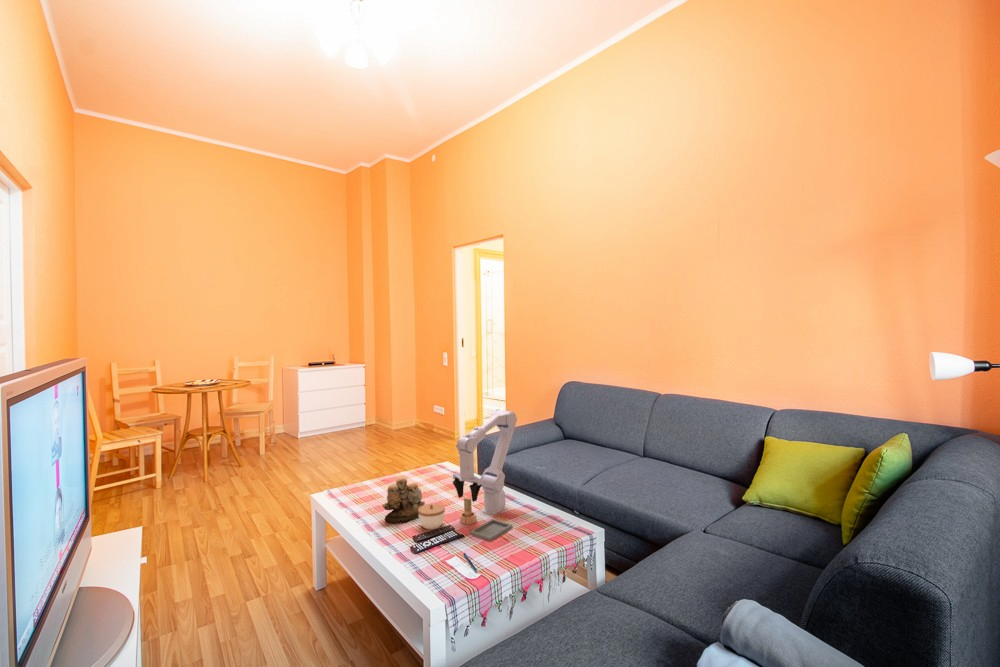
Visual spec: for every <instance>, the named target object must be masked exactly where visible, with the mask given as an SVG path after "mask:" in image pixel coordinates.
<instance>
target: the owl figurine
mask: <svg viewBox="0 0 1000 667" xmlns="http://www.w3.org/2000/svg"><path fill="white" fill-rule="evenodd" d="M407 483H408V480H407V479H406V478H405V477H398V479H397V480H396V481H395V483H392V484H390V485H389V486H388V487H387V495H386V501H387V502H386V503H385V502H384V503H383V504H382V507H383V509H384V510H385V511H390V512H388V513H387V514H386V515H385V516H384V520H385V522H386V523H389V524H392V525H393V524H395V525H397V524H407V523H408V522H411V521H414V520H417V519H419V513H418V509H419V508H420V507H421V506H423V505H426V502H425V501H422V500H423V494H422V489H421V488H420V487H419V485H418V484H417V483H414V482H413V483H411V484H409V485H408V484H407Z"/></svg>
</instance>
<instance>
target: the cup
mask: <svg viewBox="0 0 1000 667" xmlns="http://www.w3.org/2000/svg"><path fill="white" fill-rule="evenodd" d="M459 521H460V522H459V523H460V524H463V525H473V524H475V523H476V522H477V513H476V512H475V511H472V516H471V517H464V511H463V512H460V513H459Z"/></svg>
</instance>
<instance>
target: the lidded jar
mask: <svg viewBox="0 0 1000 667" xmlns="http://www.w3.org/2000/svg"><path fill="white" fill-rule="evenodd" d="M445 507H446V506H445V505H444V504H442V503H437V502H436V503H434V502H433V503H432V502H431V503H427V504H426V503H425V504H424V505H423V506H421V507H420V508H419V509H418V513H419V518H418V521H419V524H420V526H422V528H424V529H426V530H436V529H439V528H440V527H441V526H442V524H443V523H444V521H445V515H446V514H445V511H446V508H445Z"/></svg>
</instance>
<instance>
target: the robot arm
mask: <svg viewBox="0 0 1000 667" xmlns="http://www.w3.org/2000/svg"><path fill="white" fill-rule="evenodd" d="M517 420H518V417H517V415H516V412H515V411H513V410H512V411H510V410H509V411H508V410H501V409H495V410H494V411H493V412H492V413H491V414H490V417H489V418H488V419H487V420H486V421H485V422H484V423H483V424H482V425H481V426H479V425H478V426H475V427H473V429H472V430H471V431H469V432H468V433H466V435H465V436H460V438H458V440H457V442H456V444H455V446H456V448H457V451H458V455H459V473H458V472H455V473H452V479H453V481H452V485H453V486H454V488H455V490H456V492H457V493H456V494H457V496H458V498H459V499H460V498H462V497H464V486H465V482H467V483H470V485H469V486H468V487H469V488H470V489H469V490H470V493H471V502H476V501H477V500H478V495H479V492H480V490H481V487H482V490H483V501H484V502H483V505H484V506H483V508H481V509H480V511H481V512H484V513H487V514H488V513H489V514H491V515H496V514H498V513H500V512H502V511H503V510H505V509H507V507H508V506H506V492H505V490H504V486H505V478H506V475H505V473H504V472H503V470H502V469H503V466H504V465H505V464H504V463H505V461H506V458H507V454H508V451H509V446H510V444H511V441H512V439H513V438H512V437H513V434H514V431H515V427H516V424H517ZM495 427H497V429H498V430H499V431H500V434H499V436H498V440H497V442H496V443H497V444H496V445H495V446H496V447H495V450H494V453H493V455H492V460H491V463H490V465H489V467H487V468H485V469H484V472H483V473H482V474H481V476H480V478H479V477H477V476H475V465H474V463H475V462H474V461H475V460H474V459H475V458H474V452H475V450H476V449H477V446H478V444H479V443H480V442H481V441H483V440H484V439H485V438H486V436H487V433H489V431H491V430H492V429H494V428H495Z"/></svg>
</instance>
